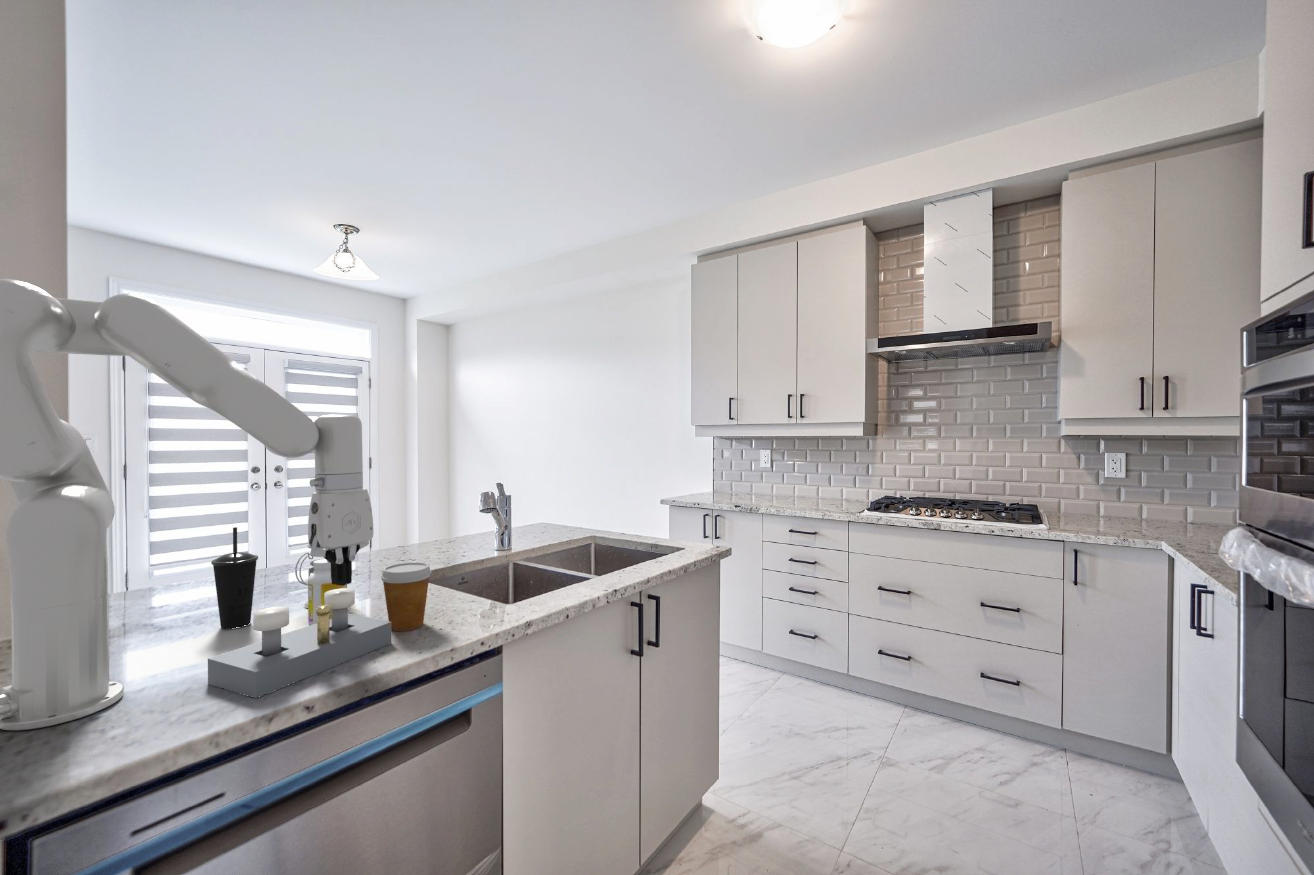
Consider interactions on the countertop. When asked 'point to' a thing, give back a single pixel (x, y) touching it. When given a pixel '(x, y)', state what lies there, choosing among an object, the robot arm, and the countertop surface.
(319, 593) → the supplement bottle
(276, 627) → the knob near
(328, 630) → the brass post
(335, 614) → the knob far
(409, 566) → the disposable coffee cup
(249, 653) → the mount
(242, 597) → the drinking cup
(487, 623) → the countertop surface
